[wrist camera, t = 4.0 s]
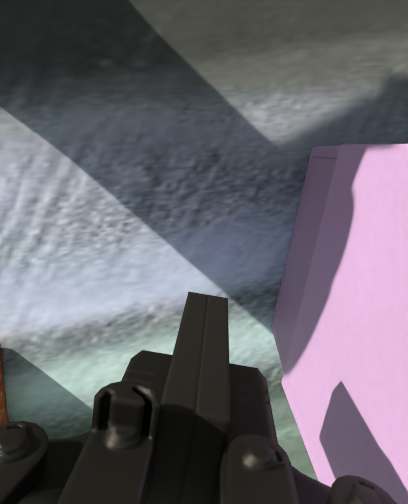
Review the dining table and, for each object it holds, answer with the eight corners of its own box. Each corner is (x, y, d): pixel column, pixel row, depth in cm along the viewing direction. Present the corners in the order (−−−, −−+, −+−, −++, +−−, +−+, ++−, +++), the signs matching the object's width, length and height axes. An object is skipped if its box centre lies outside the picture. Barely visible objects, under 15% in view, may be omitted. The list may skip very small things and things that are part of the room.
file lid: (631, 149, 8) (596, 142, 8) (403, 645, 12) (379, 644, 12) (353, 146, 20) (340, 143, 20) (292, 384, 25) (280, 383, 25)
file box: (474, 172, 28) (565, 180, 21) (411, 349, 32) (468, 410, 25) (312, 146, 28) (344, 145, 21) (271, 326, 33) (285, 379, 25)
